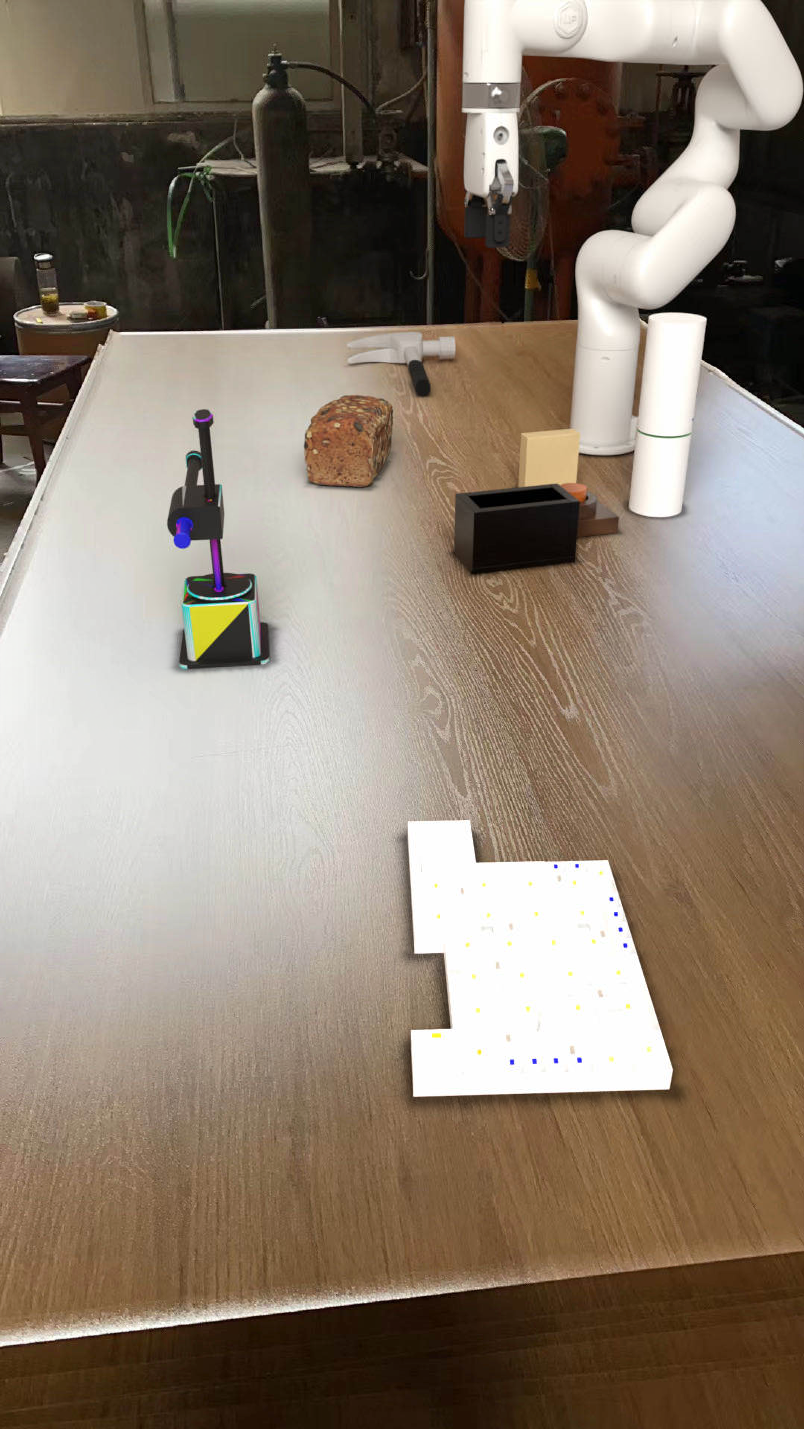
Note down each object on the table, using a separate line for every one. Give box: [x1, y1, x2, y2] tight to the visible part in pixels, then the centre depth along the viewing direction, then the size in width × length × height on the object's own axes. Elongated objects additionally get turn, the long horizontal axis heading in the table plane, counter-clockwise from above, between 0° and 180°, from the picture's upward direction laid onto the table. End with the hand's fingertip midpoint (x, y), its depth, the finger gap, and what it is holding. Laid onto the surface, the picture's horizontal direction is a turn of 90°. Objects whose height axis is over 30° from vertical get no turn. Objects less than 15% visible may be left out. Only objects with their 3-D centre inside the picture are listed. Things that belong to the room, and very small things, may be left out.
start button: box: [560, 482, 588, 502], centre depth 142 cm, size 4×4×2 cm
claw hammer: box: [347, 331, 457, 397], centre depth 213 cm, size 6×22×30 cm
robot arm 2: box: [166, 408, 270, 670], centre depth 112 cm, size 25×9×24 cm, turn 7°
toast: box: [518, 428, 580, 487], centre depth 155 cm, size 8×2×8 cm, turn 106°
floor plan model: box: [407, 819, 674, 1098], centre depth 75 cm, size 15×25×2 cm, turn 2°
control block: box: [577, 491, 620, 538], centre depth 143 cm, size 10×8×4 cm
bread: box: [303, 394, 394, 488], centre depth 163 cm, size 19×11×10 cm, turn 170°
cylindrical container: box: [628, 312, 708, 518], centre depth 143 cm, size 7×7×25 cm
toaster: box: [453, 483, 580, 575], centre depth 133 cm, size 13×7×8 cm, turn 106°
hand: (486, 242), depth 150 cm, fingers open, 9 cm apart
